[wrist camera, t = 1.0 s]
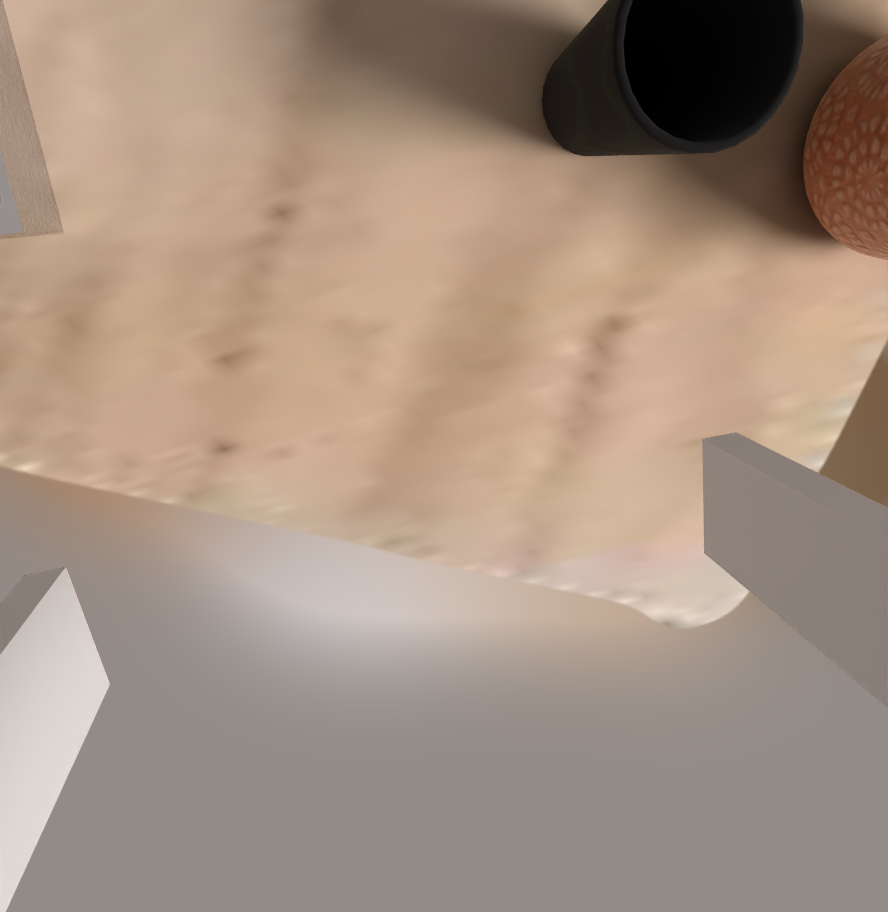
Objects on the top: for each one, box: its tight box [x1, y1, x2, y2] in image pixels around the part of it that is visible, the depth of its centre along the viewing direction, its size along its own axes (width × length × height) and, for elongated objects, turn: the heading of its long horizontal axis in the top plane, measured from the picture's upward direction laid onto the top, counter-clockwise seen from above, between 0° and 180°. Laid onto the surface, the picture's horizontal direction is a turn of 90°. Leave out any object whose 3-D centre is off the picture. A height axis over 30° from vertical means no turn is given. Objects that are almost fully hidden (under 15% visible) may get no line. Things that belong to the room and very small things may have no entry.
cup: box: [542, 0, 803, 156], centre depth 31 cm, size 8×8×12 cm
